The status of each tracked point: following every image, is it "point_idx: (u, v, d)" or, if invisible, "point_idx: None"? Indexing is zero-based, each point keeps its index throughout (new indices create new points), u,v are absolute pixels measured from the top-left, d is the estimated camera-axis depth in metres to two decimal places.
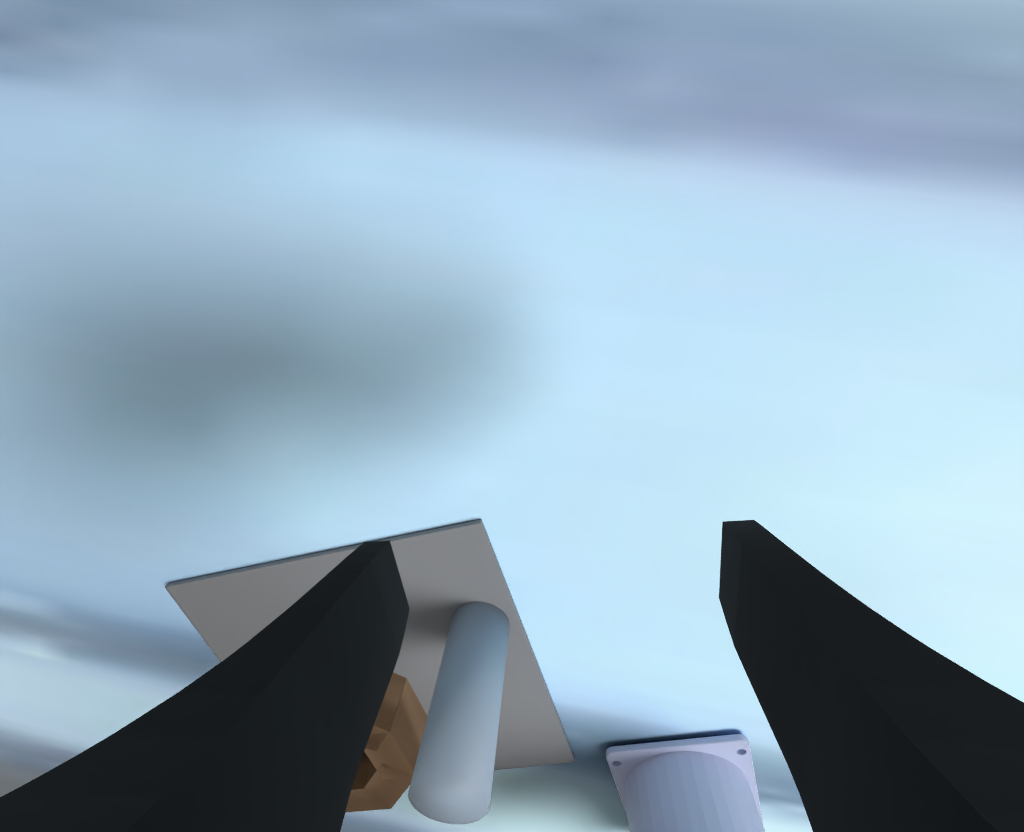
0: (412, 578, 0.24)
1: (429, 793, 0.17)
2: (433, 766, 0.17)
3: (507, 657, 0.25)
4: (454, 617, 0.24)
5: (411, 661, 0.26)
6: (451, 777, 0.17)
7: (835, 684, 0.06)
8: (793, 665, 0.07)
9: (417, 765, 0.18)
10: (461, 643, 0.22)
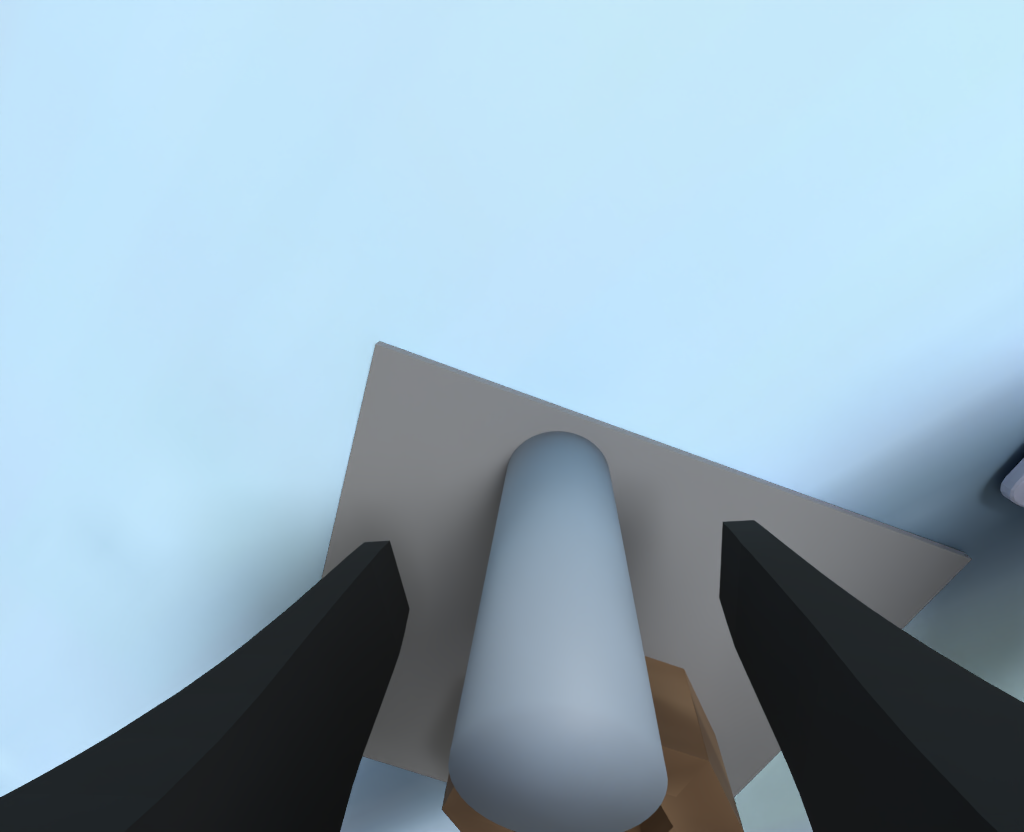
0: (419, 501, 0.15)
1: (506, 790, 0.07)
2: (455, 729, 0.07)
3: (651, 490, 0.14)
4: None
5: None
6: (479, 726, 0.06)
7: (835, 684, 0.06)
8: (793, 665, 0.07)
9: None
10: (498, 512, 0.12)
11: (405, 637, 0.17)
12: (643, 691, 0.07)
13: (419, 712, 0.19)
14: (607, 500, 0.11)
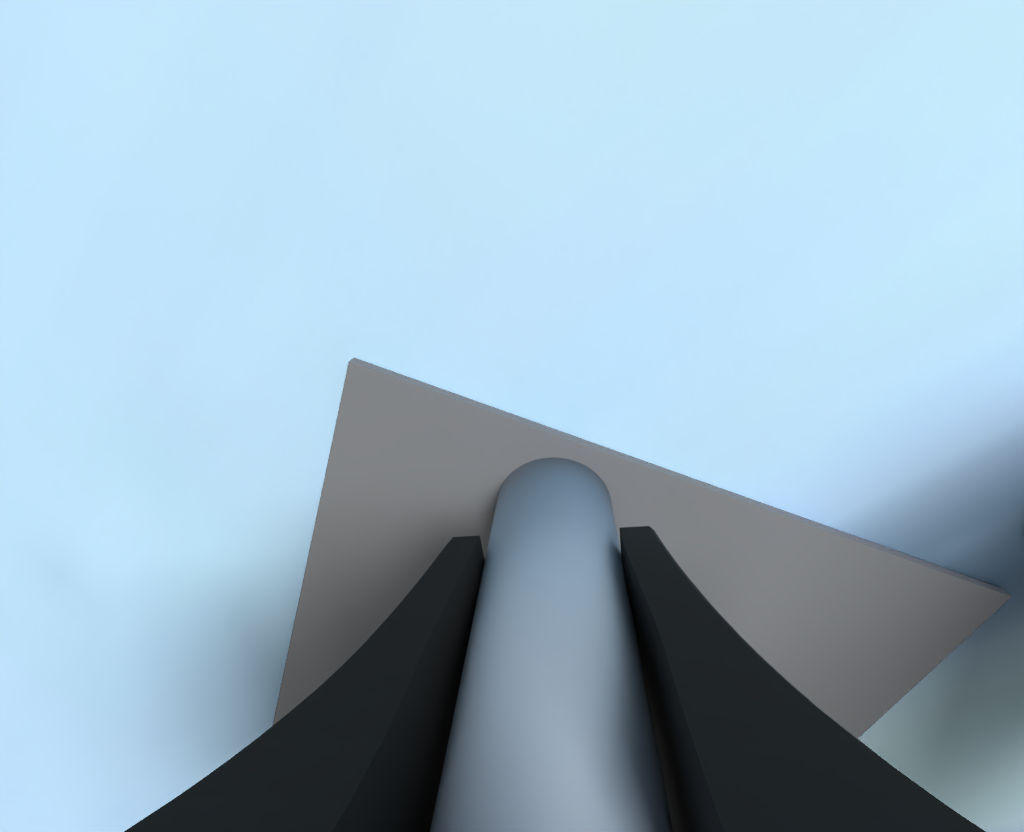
0: (400, 532, 0.13)
1: None
2: None
3: (657, 521, 0.12)
4: None
5: None
6: None
7: (668, 686, 0.06)
8: (654, 667, 0.07)
9: None
10: (486, 553, 0.10)
11: None
12: (659, 813, 0.05)
13: None
14: (610, 542, 0.10)
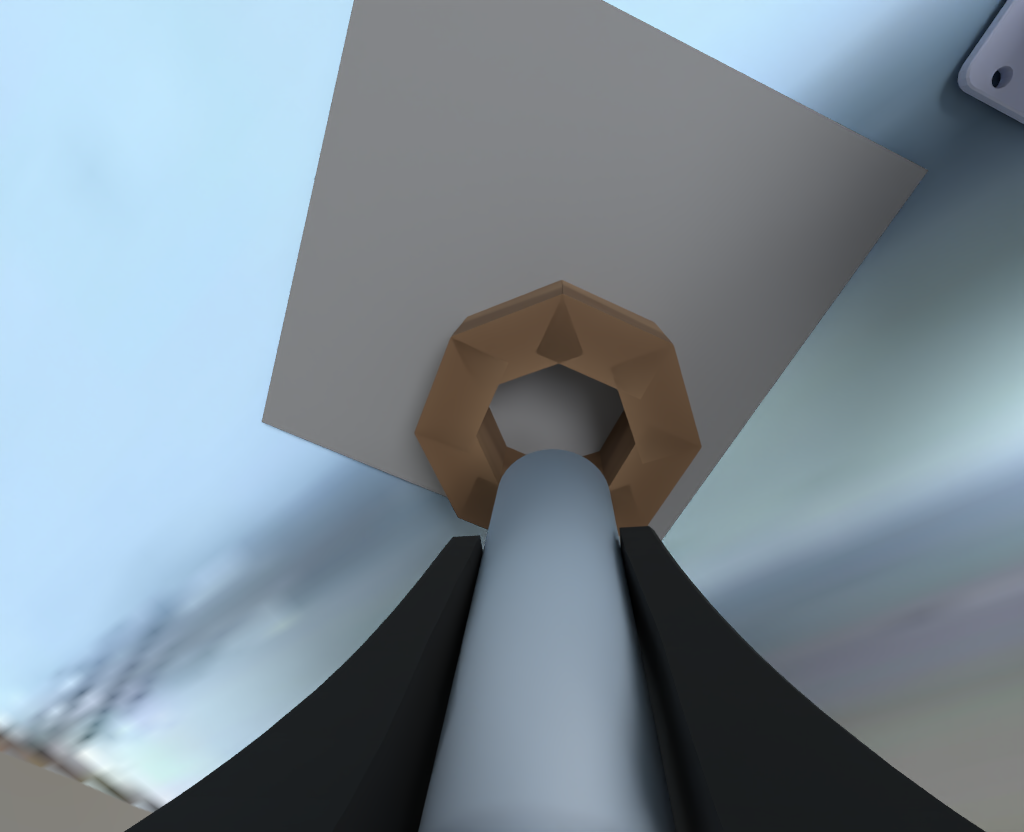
0: (410, 99, 0.15)
1: None
2: (420, 823, 0.05)
3: (635, 82, 0.14)
4: None
5: (540, 244, 0.16)
6: (447, 827, 0.05)
7: (668, 686, 0.06)
8: (654, 668, 0.07)
9: None
10: (486, 540, 0.10)
11: (387, 285, 0.17)
12: (655, 774, 0.05)
13: (395, 390, 0.19)
14: (608, 527, 0.10)
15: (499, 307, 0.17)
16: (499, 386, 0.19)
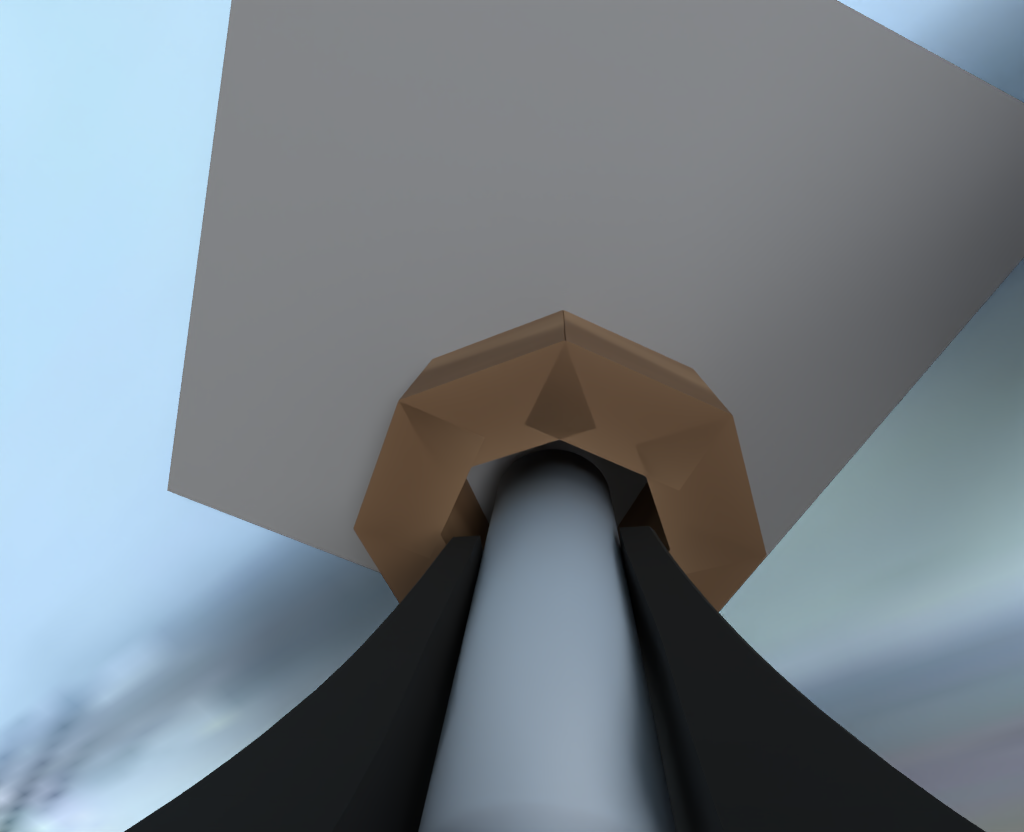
0: (339, 47, 0.10)
1: None
2: (420, 822, 0.05)
3: (675, 18, 0.09)
4: None
5: (532, 260, 0.12)
6: (448, 827, 0.05)
7: (668, 686, 0.06)
8: (653, 668, 0.07)
9: None
10: (486, 540, 0.10)
11: (321, 317, 0.13)
12: (655, 773, 0.05)
13: (340, 452, 0.14)
14: (608, 527, 0.10)
15: (475, 349, 0.12)
16: None
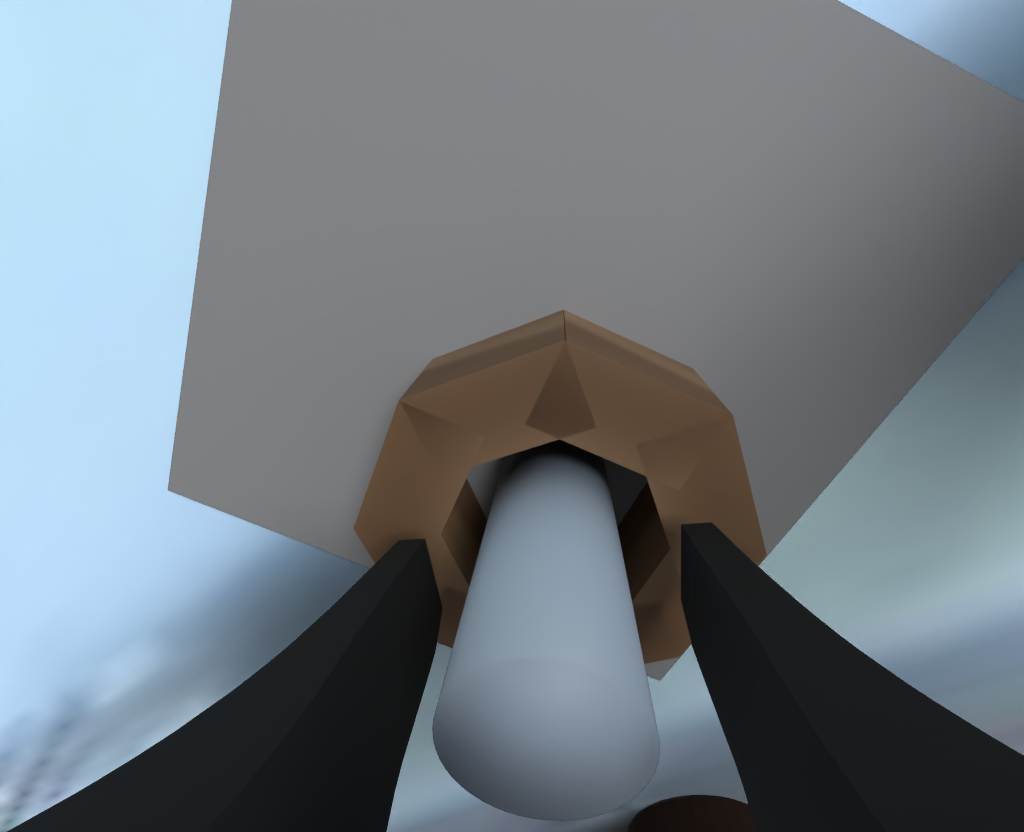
0: (340, 47, 0.10)
1: (493, 759, 0.06)
2: (440, 693, 0.07)
3: (675, 17, 0.09)
4: None
5: (532, 260, 0.12)
6: (464, 683, 0.06)
7: (767, 685, 0.06)
8: (736, 667, 0.07)
9: None
10: None
11: (321, 316, 0.13)
12: (634, 654, 0.07)
13: (340, 452, 0.14)
14: (601, 487, 0.11)
15: (475, 349, 0.12)
16: None
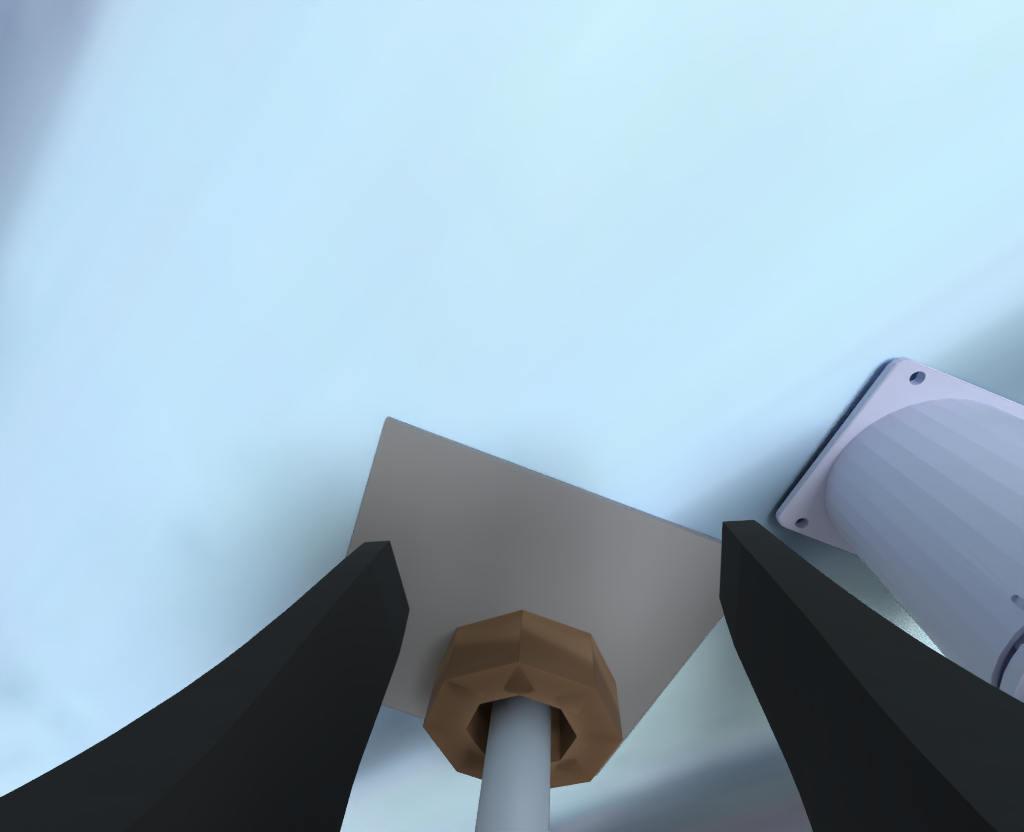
0: (411, 517, 0.22)
1: None
2: None
3: (561, 513, 0.21)
4: None
5: (505, 590, 0.23)
6: None
7: (835, 684, 0.06)
8: (793, 666, 0.07)
9: None
10: (491, 713, 0.23)
11: None
12: (541, 827, 0.19)
13: (408, 665, 0.26)
14: (543, 710, 0.23)
15: (479, 633, 0.24)
16: None
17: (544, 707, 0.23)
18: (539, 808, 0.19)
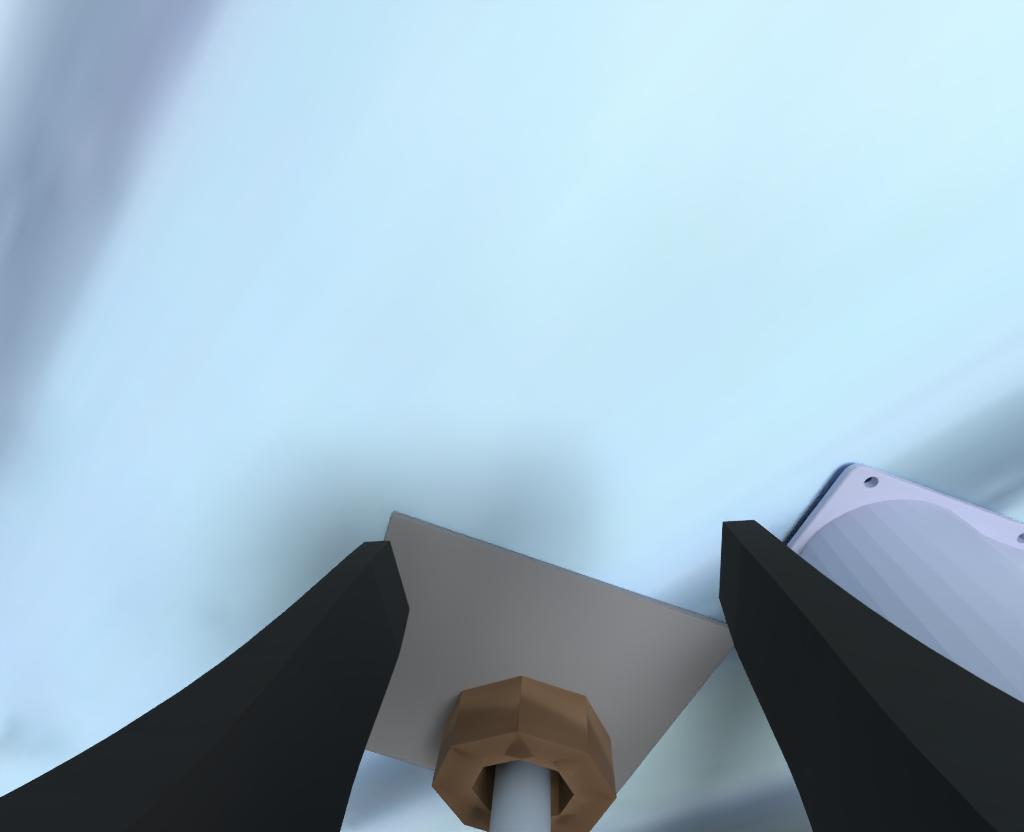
0: (417, 596, 0.24)
1: None
2: None
3: (554, 593, 0.23)
4: None
5: (505, 659, 0.25)
6: None
7: (835, 684, 0.06)
8: (793, 665, 0.07)
9: None
10: (495, 773, 0.25)
11: (408, 675, 0.26)
12: None
13: (417, 723, 0.28)
14: (542, 770, 0.25)
15: (481, 699, 0.25)
16: None
17: (544, 767, 0.25)
18: None
